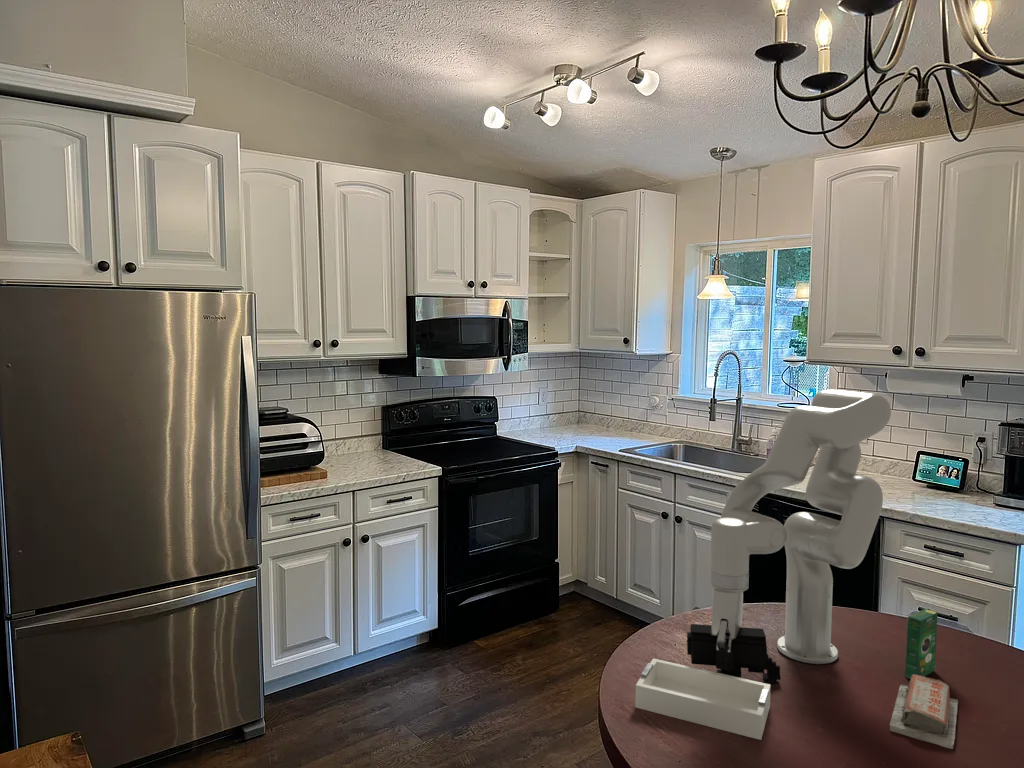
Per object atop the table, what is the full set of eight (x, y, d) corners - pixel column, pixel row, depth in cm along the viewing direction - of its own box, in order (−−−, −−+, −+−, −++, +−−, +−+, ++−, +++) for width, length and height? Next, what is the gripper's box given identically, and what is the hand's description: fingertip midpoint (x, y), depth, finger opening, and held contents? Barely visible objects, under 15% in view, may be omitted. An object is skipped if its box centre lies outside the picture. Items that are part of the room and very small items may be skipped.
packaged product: (900, 667, 139) (959, 681, 133) (899, 690, 139) (958, 705, 133) (889, 707, 124) (955, 725, 118) (888, 733, 124) (953, 752, 119)
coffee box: (921, 665, 148) (924, 606, 147) (936, 671, 146) (939, 611, 145) (903, 676, 144) (906, 616, 143) (918, 682, 141) (921, 620, 140)
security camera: (782, 689, 138) (783, 641, 137) (688, 681, 142) (688, 634, 141) (776, 672, 145) (777, 626, 144) (686, 665, 149) (686, 620, 148)
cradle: (652, 679, 143) (653, 655, 142) (770, 707, 132) (770, 681, 132) (635, 707, 132) (635, 681, 132) (761, 740, 122) (762, 712, 121)
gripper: (719, 563, 151) (717, 639, 153) (701, 590, 136) (700, 674, 137) (754, 568, 148) (753, 646, 149) (741, 596, 133) (739, 683, 134)
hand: (728, 659), depth 143 cm, fingers closed on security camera, 8 cm apart
